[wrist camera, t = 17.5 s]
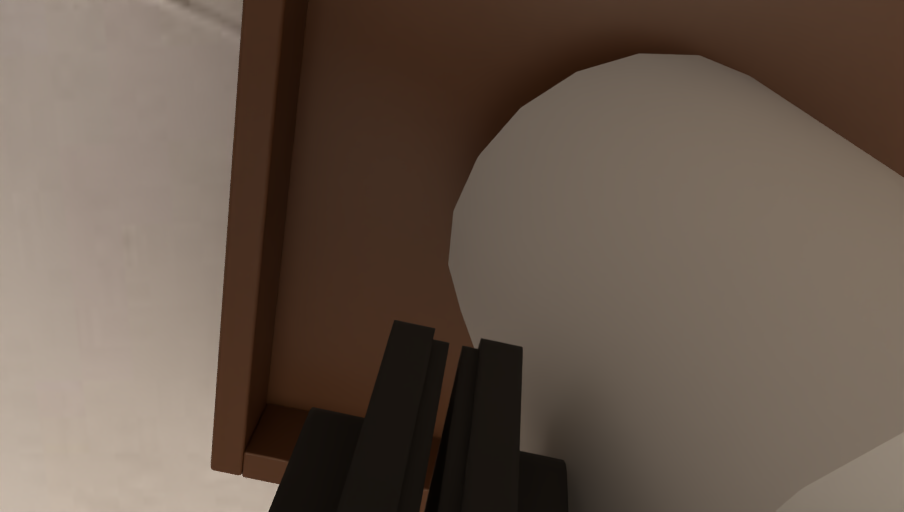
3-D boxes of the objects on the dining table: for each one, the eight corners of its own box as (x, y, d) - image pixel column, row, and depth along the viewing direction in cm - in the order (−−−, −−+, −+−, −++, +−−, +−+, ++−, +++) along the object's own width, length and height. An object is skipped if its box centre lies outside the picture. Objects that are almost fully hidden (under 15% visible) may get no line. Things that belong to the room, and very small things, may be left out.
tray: (241, 406, 23) (209, 471, 21) (304, -312, 16) (265, -336, 13) (1161, 593, 23) (1230, 678, 21) (1663, -29, 16) (1856, -4, 14)
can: (372, 287, 18) (525, 1006, 8) (579, -38, 15) (1230, 387, 5) (641, 398, 21) (1006, 1016, 11) (850, 143, 18) (1595, 636, 8)
